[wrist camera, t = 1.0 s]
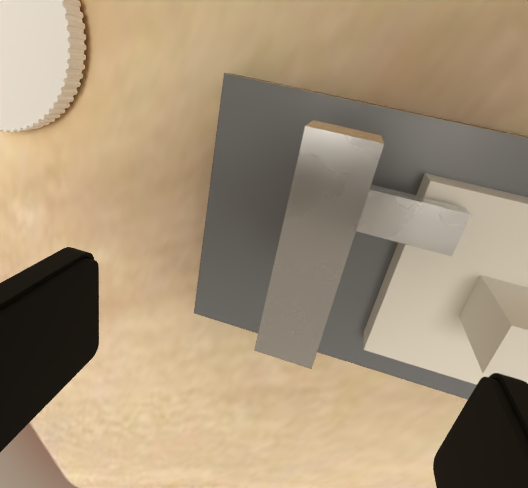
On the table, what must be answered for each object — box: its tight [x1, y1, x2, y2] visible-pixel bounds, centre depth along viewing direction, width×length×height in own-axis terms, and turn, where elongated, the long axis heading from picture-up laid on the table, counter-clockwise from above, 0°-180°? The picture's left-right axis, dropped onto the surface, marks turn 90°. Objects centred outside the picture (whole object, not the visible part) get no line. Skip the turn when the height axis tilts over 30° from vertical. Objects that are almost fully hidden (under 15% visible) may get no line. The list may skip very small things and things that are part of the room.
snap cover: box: [364, 173, 528, 385], centre depth 20 cm, size 12×12×7 cm
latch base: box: [194, 73, 528, 399], centre depth 25 cm, size 26×18×2 cm
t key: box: [254, 120, 471, 369], centre depth 18 cm, size 8×9×11 cm
